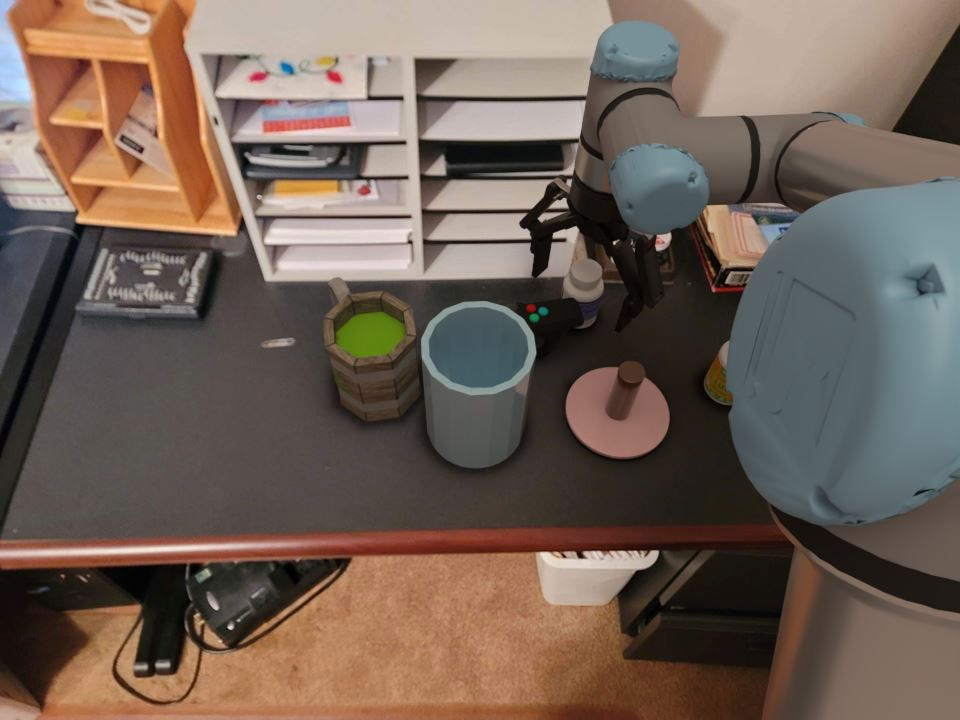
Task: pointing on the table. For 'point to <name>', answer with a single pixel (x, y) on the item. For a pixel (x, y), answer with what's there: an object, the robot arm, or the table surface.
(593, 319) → the pill bottle
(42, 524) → the table surface
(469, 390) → the tin
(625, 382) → the lid
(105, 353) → the table surface
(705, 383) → the supplement bottle
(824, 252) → the robot arm
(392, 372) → the mug
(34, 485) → the table surface
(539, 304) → the controller
